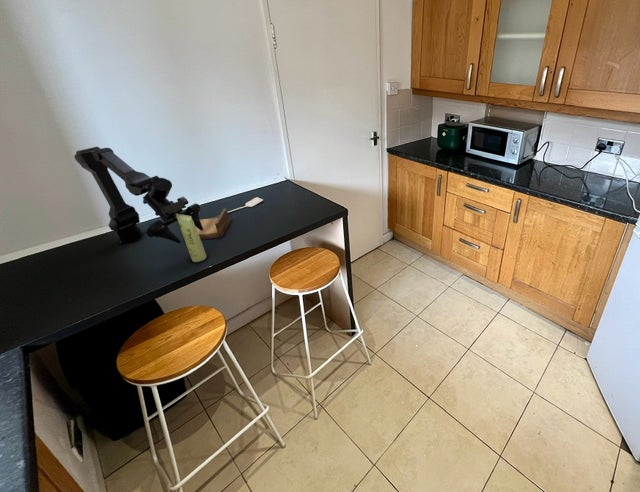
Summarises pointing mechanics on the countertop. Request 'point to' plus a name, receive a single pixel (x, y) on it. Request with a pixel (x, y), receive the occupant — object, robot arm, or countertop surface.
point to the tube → (191, 238)
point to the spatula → (247, 204)
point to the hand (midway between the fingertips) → (191, 236)
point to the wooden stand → (214, 226)
